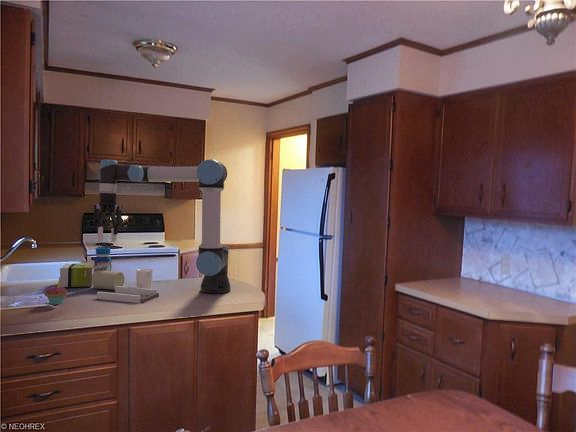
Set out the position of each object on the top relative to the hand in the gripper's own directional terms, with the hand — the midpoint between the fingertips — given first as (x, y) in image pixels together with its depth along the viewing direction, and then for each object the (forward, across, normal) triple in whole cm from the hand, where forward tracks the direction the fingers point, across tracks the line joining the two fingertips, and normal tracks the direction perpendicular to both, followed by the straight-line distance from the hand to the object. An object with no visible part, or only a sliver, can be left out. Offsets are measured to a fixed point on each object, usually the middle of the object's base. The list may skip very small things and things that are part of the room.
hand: (107, 240), depth 203 cm
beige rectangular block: (+20, -3, -6) cm, 22 cm away
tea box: (+20, +30, -7) cm, 37 cm away
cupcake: (+25, +7, +24) cm, 36 cm away
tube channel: (+25, -14, +4) cm, 29 cm away
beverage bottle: (+25, +9, -10) cm, 29 cm away
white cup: (+25, -13, -12) cm, 31 cm away
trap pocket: (+25, -23, +4) cm, 34 cm away
